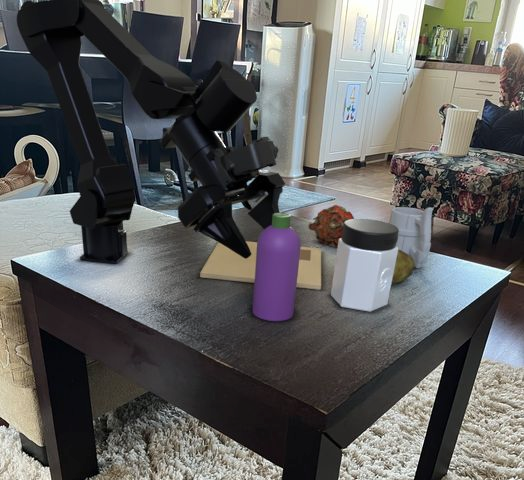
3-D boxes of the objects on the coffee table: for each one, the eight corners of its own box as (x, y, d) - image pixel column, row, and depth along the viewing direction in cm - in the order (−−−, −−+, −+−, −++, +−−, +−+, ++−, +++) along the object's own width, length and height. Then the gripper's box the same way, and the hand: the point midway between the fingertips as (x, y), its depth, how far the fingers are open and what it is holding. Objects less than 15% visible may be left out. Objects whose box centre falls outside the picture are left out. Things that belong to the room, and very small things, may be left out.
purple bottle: (250, 318, 75) (256, 218, 69) (254, 302, 81) (261, 207, 74) (292, 323, 75) (303, 222, 68) (294, 306, 80) (304, 211, 74)
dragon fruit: (336, 261, 106) (318, 251, 117) (371, 236, 105) (350, 228, 116) (315, 225, 102) (298, 218, 113) (351, 199, 102) (330, 194, 113)
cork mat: (200, 277, 88) (200, 272, 88) (220, 242, 106) (220, 238, 105) (320, 289, 87) (321, 284, 87) (320, 252, 105) (321, 248, 104)
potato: (421, 292, 90) (431, 245, 86) (345, 288, 89) (353, 241, 85) (407, 274, 97) (416, 231, 93) (337, 270, 96) (343, 227, 92)
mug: (406, 255, 107) (418, 194, 102) (439, 276, 98) (455, 210, 92) (372, 256, 105) (383, 194, 100) (402, 277, 95) (417, 210, 90)
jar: (362, 316, 79) (376, 237, 73) (320, 298, 84) (331, 223, 78) (396, 302, 85) (411, 228, 79) (355, 286, 90) (367, 215, 84)
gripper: (196, 117, 62) (269, 230, 62) (279, 113, 76) (338, 205, 76) (148, 176, 69) (213, 277, 69) (232, 162, 83) (286, 246, 84)
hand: (267, 249), depth 74 cm, fingers open, 9 cm apart
